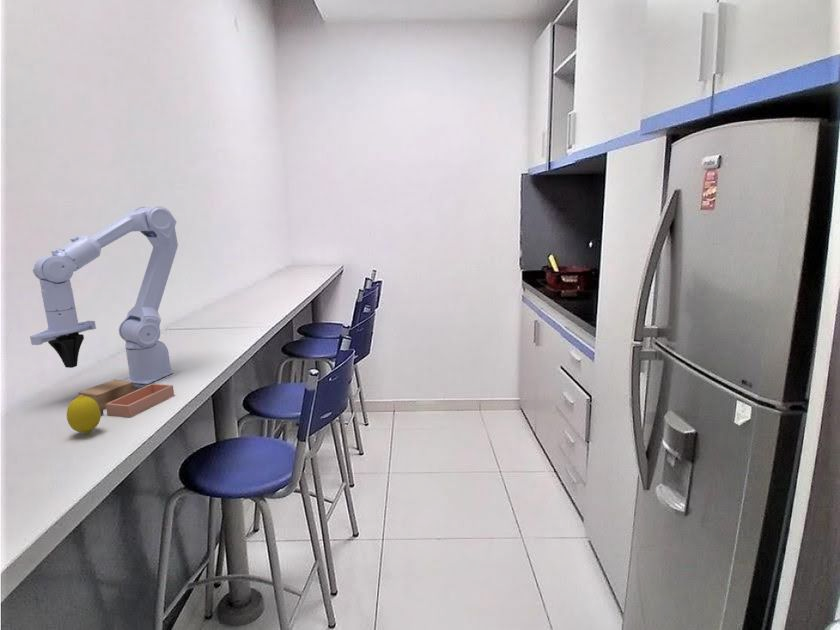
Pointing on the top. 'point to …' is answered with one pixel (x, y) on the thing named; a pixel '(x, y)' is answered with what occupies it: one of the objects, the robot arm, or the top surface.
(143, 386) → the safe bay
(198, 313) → the top surface
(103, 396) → the block
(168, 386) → the tray
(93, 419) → the lemon
